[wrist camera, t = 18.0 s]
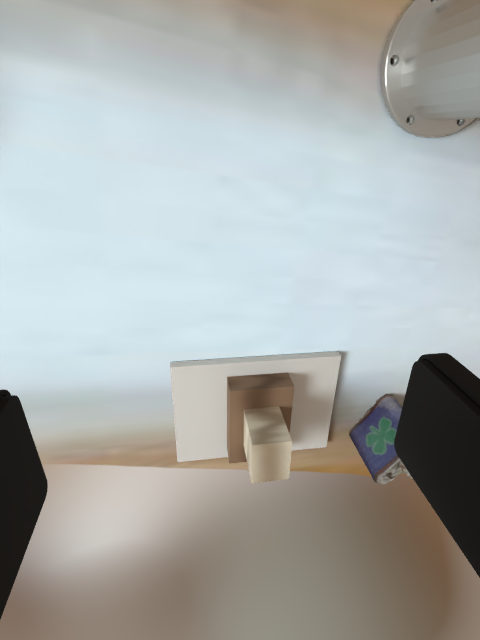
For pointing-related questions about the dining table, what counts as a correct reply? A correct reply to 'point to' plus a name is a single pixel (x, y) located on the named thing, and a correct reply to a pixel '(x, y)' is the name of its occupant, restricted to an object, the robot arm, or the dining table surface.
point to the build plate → (211, 399)
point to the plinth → (254, 405)
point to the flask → (379, 440)
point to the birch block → (266, 444)
